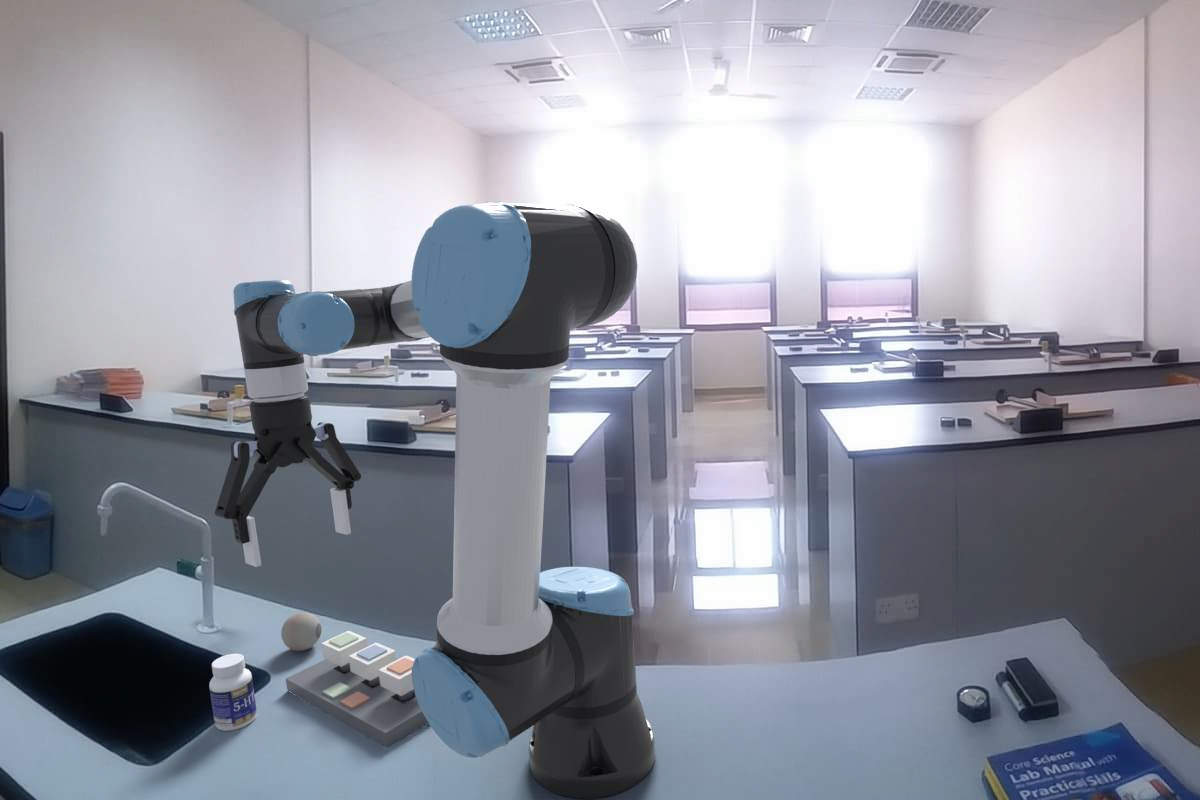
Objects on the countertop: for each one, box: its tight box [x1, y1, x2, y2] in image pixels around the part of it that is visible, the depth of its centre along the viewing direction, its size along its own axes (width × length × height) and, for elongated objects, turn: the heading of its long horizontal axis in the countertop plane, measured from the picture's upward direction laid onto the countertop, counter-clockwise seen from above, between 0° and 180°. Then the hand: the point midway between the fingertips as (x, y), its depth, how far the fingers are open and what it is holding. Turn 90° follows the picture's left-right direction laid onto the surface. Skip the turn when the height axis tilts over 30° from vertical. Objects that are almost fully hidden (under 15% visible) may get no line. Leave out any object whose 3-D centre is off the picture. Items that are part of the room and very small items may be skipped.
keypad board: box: [285, 659, 428, 748], centre depth 109 cm, size 24×12×2 cm, turn 51°
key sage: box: [321, 630, 369, 672], centre depth 114 cm, size 5×5×5 cm
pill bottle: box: [208, 653, 258, 732], centre depth 105 cm, size 5×5×9 cm
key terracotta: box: [379, 655, 416, 701], centre depth 105 cm, size 5×5×5 cm
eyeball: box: [280, 611, 322, 652], centre depth 124 cm, size 6×6×6 cm
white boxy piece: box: [349, 642, 398, 686], centre depth 109 cm, size 5×5×5 cm
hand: (300, 548), depth 107 cm, fingers open, 13 cm apart
